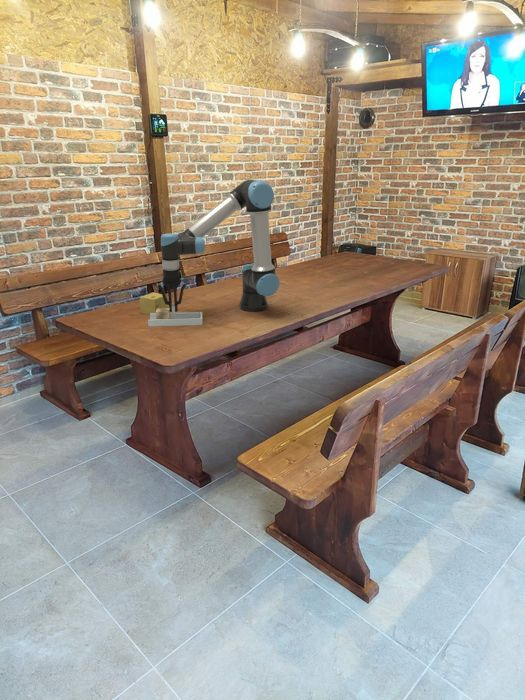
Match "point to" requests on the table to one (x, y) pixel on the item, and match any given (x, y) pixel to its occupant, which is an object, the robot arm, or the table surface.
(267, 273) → the robot arm
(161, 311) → the block
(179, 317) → the channel
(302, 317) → the table surface
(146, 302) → the cheese
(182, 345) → the table surface
